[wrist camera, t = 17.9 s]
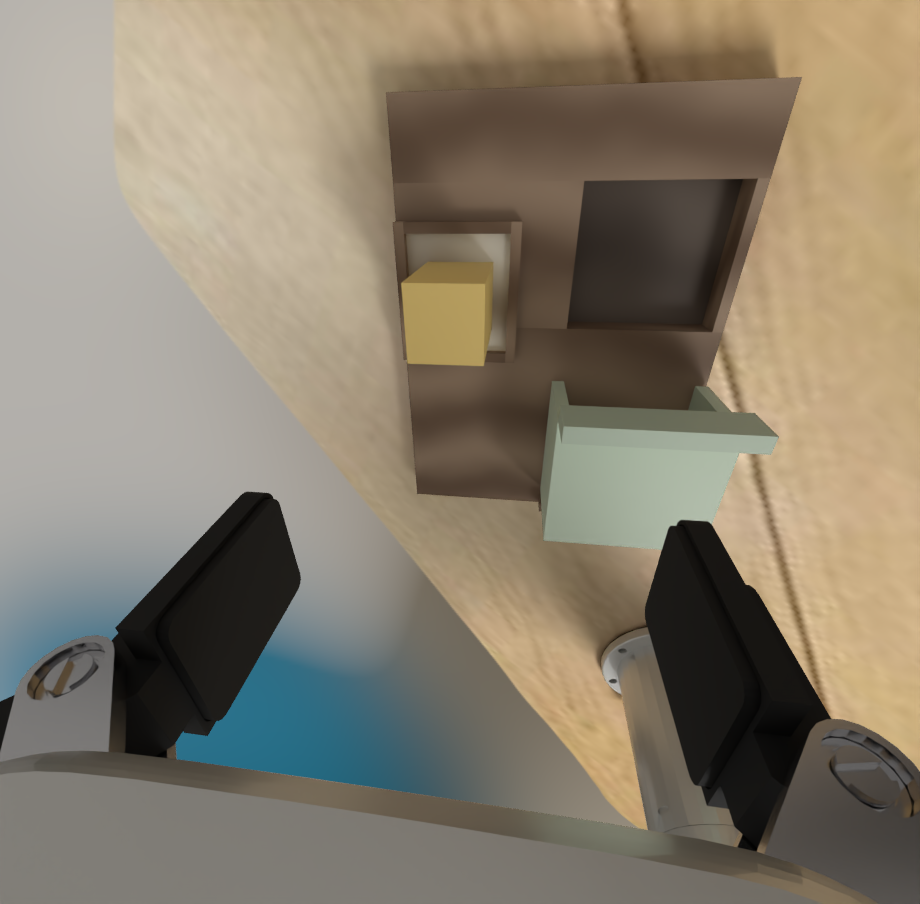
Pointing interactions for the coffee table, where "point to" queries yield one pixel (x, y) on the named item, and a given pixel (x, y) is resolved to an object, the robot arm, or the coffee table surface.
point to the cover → (639, 467)
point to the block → (448, 313)
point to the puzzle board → (575, 251)
